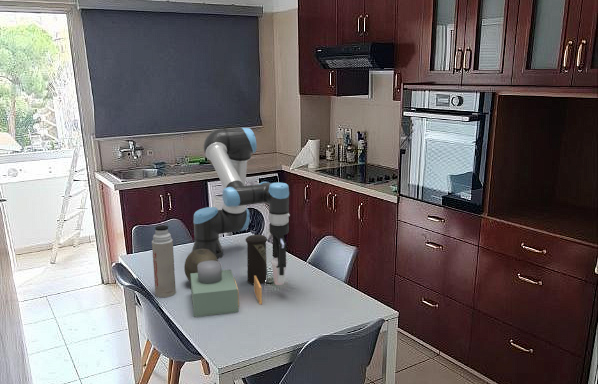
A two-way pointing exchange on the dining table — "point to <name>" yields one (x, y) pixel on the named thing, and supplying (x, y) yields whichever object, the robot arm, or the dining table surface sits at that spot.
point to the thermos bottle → (163, 262)
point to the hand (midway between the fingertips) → (279, 278)
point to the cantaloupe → (197, 260)
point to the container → (256, 258)
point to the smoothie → (274, 264)
